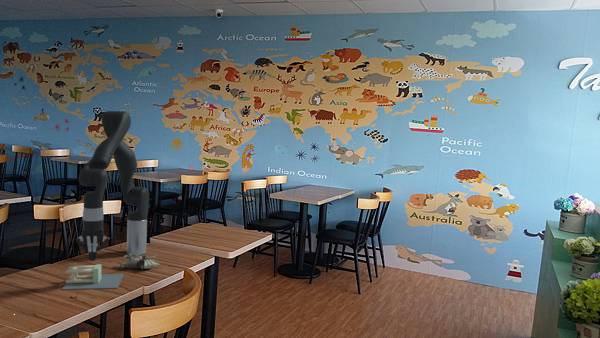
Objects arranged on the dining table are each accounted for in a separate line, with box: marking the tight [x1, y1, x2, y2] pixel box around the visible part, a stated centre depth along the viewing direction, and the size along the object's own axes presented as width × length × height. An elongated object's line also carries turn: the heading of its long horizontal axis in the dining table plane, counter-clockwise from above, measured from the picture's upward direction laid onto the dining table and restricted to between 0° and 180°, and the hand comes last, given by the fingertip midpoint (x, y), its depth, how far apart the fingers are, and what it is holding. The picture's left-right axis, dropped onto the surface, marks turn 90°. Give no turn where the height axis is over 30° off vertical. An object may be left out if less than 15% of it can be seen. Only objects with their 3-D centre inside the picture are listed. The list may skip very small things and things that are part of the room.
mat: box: [61, 273, 125, 291], centre depth 181 cm, size 16×20×1 cm
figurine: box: [119, 253, 163, 270], centre depth 202 cm, size 20×6×17 cm
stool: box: [65, 263, 102, 285], centre depth 180 cm, size 6×6×12 cm
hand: (92, 260), depth 180 cm, fingers closed
